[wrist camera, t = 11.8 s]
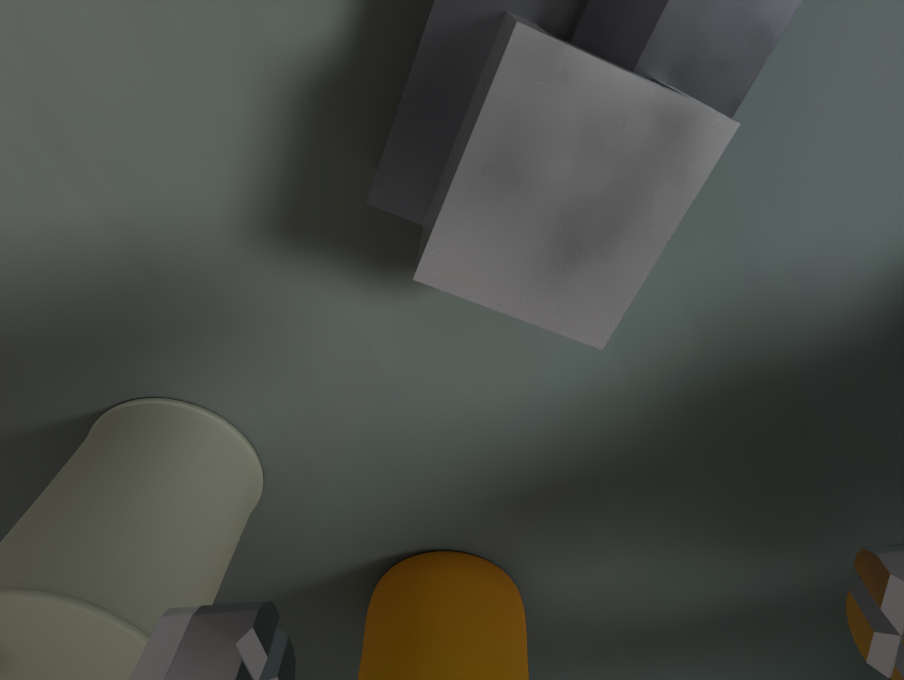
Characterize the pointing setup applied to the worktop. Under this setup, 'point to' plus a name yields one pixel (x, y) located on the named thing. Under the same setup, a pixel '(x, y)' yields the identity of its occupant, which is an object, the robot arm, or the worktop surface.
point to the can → (123, 540)
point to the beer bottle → (445, 622)
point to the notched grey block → (564, 185)
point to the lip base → (466, 43)
